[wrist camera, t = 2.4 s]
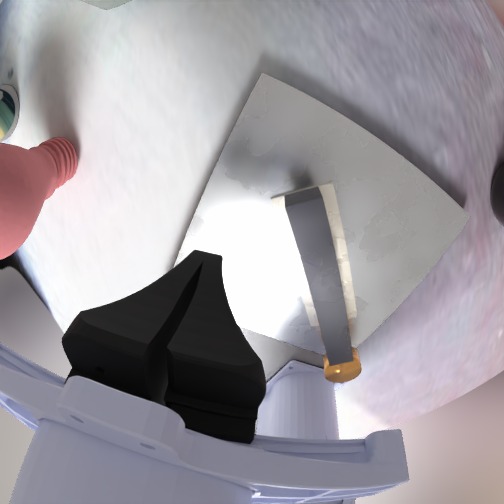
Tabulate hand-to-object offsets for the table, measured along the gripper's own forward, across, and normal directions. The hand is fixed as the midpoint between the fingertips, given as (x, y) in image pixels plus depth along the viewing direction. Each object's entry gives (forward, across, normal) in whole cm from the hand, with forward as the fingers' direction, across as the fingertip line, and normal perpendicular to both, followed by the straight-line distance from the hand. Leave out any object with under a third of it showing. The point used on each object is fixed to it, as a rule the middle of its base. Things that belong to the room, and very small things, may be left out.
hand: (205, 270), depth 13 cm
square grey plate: (+8, -7, +2) cm, 10 cm away
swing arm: (+5, -8, +4) cm, 11 cm away
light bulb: (+8, +14, -1) cm, 16 cm away
